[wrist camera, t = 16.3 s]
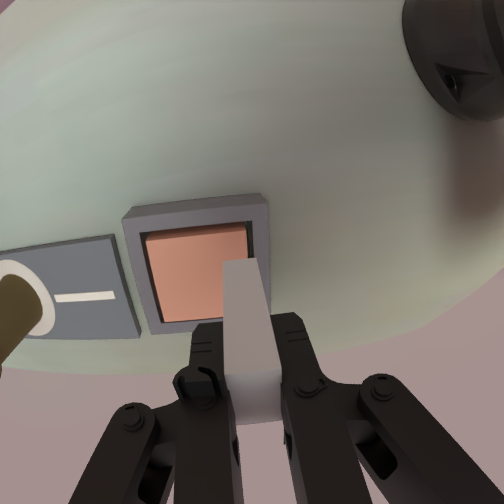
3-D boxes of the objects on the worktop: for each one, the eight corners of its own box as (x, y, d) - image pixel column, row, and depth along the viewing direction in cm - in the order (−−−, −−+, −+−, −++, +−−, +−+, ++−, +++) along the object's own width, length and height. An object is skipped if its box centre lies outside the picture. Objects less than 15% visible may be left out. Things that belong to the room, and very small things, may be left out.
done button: (241, 216, 22) (246, 230, 19) (246, 293, 25) (251, 313, 22) (153, 226, 21) (145, 241, 19) (168, 300, 24) (164, 322, 22)
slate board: (113, 234, 22) (110, 239, 21) (141, 331, 26) (139, 338, 25) (-22, 255, 20) (-28, 260, 19) (10, 332, 24) (7, 337, 23)
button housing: (260, 193, 22) (267, 203, 19) (264, 302, 26) (271, 323, 24) (131, 207, 21) (121, 219, 18) (156, 313, 25) (151, 334, 23)
